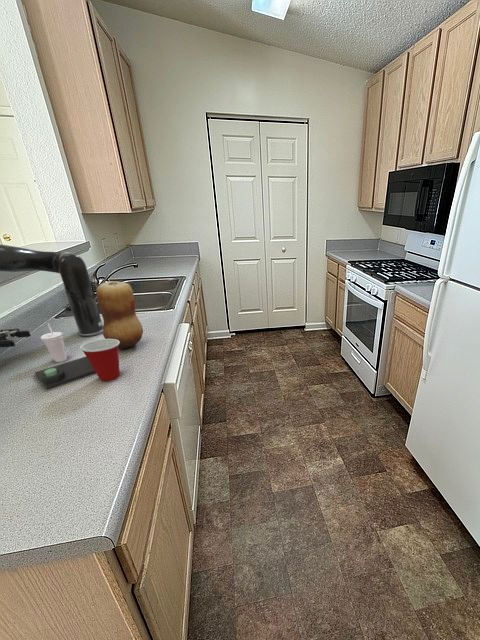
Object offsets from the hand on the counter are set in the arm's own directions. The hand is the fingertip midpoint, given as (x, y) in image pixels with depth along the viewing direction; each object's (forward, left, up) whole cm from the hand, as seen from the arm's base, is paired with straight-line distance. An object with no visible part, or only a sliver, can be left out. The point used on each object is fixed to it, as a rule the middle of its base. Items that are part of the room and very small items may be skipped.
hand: (21, 338), depth 115 cm
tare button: (+23, +1, -7) cm, 24 cm away
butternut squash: (+13, +28, -9) cm, 33 cm away
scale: (+20, +6, -9) cm, 23 cm away
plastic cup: (+33, +15, -9) cm, 38 cm away
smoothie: (+6, +7, -9) cm, 14 cm away
